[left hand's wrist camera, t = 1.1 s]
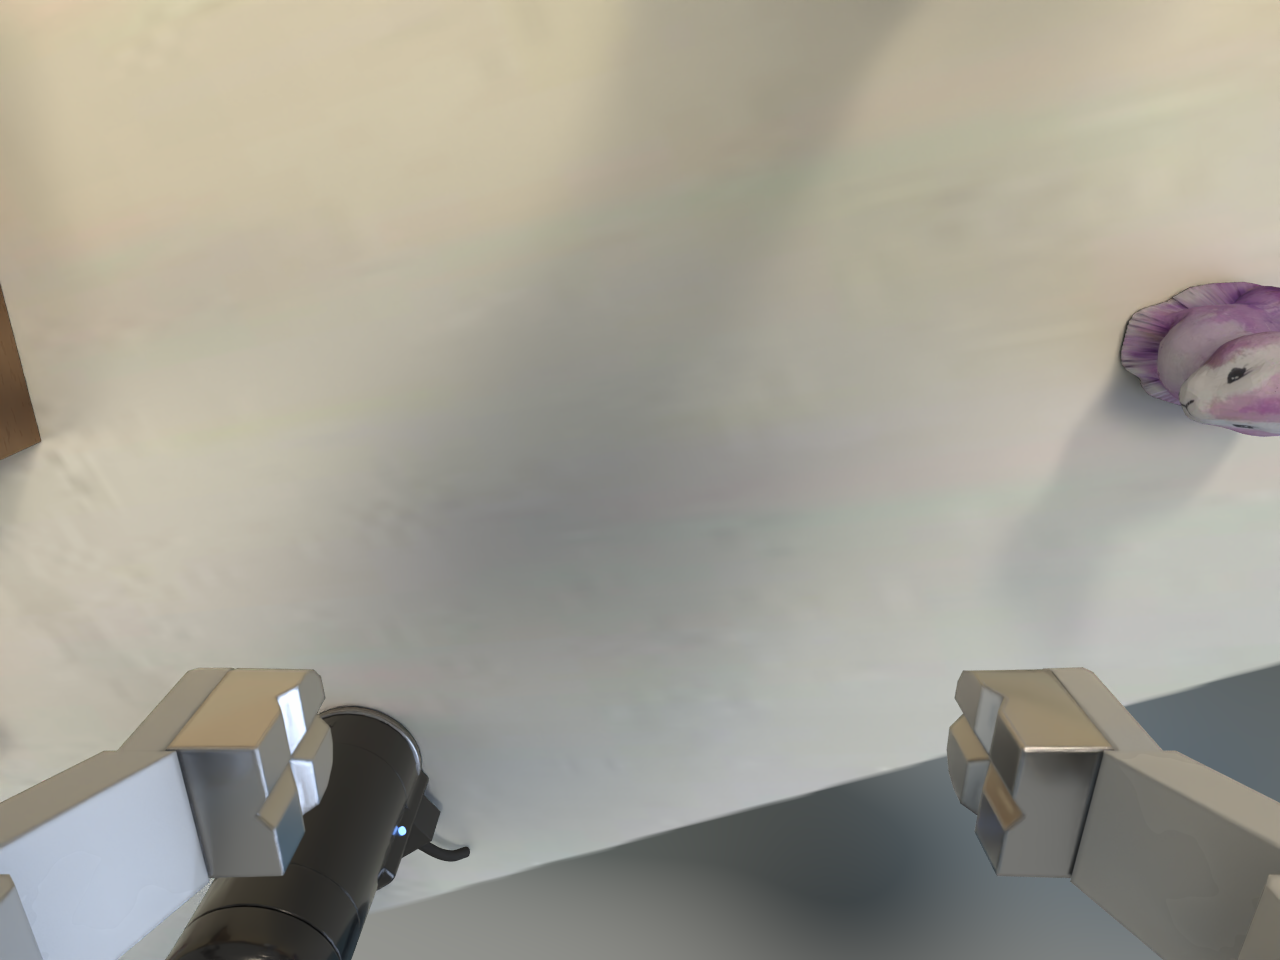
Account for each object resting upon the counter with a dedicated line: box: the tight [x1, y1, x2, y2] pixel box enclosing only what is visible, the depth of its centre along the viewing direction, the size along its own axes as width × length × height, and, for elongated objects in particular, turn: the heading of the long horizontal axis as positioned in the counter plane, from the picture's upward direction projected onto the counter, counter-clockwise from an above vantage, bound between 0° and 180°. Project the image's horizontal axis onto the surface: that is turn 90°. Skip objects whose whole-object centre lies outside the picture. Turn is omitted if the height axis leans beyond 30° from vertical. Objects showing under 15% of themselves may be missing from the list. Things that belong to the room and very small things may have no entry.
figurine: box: [1121, 282, 1280, 437], centre depth 43 cm, size 9×10×15 cm
